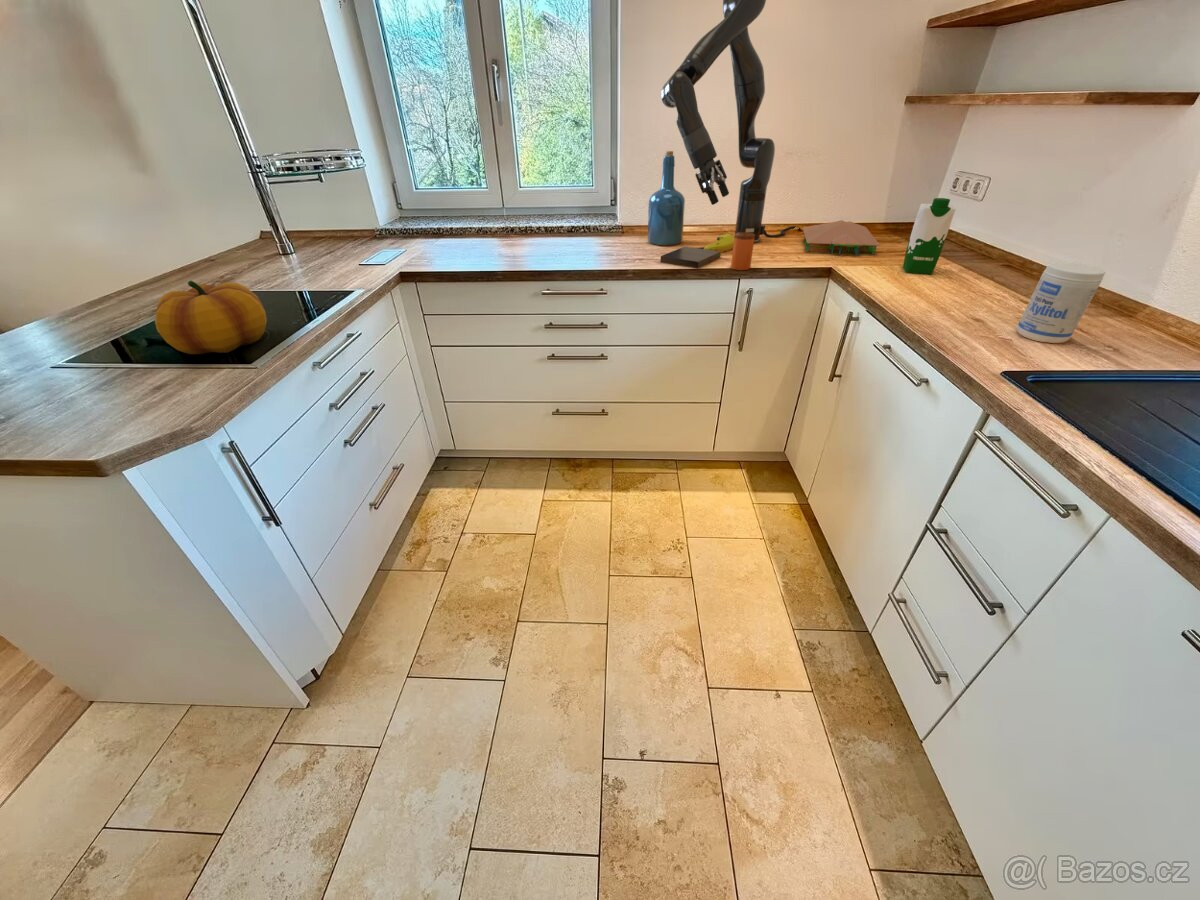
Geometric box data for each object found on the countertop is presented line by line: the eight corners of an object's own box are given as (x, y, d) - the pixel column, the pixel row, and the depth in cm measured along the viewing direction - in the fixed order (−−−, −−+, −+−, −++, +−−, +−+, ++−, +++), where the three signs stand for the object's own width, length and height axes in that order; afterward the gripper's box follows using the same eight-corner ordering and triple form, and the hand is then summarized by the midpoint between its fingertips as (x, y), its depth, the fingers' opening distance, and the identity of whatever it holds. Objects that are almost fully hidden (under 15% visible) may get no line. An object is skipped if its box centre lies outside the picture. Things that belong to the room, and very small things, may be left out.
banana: (733, 230, 189) (692, 236, 191) (739, 236, 174) (695, 244, 177) (734, 242, 191) (693, 249, 194) (740, 250, 176) (696, 257, 179)
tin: (735, 264, 165) (739, 231, 160) (753, 266, 162) (758, 233, 157) (727, 268, 161) (731, 234, 156) (745, 271, 158) (749, 237, 153)
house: (805, 254, 173) (810, 229, 169) (800, 234, 199) (804, 211, 195) (878, 257, 168) (886, 231, 163) (863, 236, 194) (869, 213, 190)
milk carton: (903, 273, 152) (925, 200, 141) (899, 265, 159) (920, 195, 148) (936, 275, 150) (961, 201, 139) (930, 267, 157) (954, 196, 146)
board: (684, 252, 180) (684, 246, 179) (720, 257, 173) (721, 251, 172) (660, 262, 169) (660, 256, 168) (697, 268, 162) (698, 261, 161)
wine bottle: (684, 246, 188) (691, 152, 171) (648, 246, 188) (651, 153, 171) (680, 237, 199) (685, 149, 182) (646, 238, 199) (648, 150, 182)
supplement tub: (1012, 337, 111) (1043, 268, 102) (1017, 324, 117) (1048, 258, 108) (1068, 348, 105) (1106, 276, 97) (1071, 334, 111) (1107, 265, 103)
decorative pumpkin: (254, 360, 110) (223, 290, 101) (147, 366, 109) (107, 296, 100) (293, 326, 126) (269, 264, 118) (201, 331, 125) (171, 269, 117)
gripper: (700, 146, 147) (722, 200, 153) (719, 135, 156) (739, 187, 161) (679, 159, 152) (701, 211, 158) (699, 148, 161) (719, 198, 167)
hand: (720, 199), depth 160 cm, fingers open, 8 cm apart
